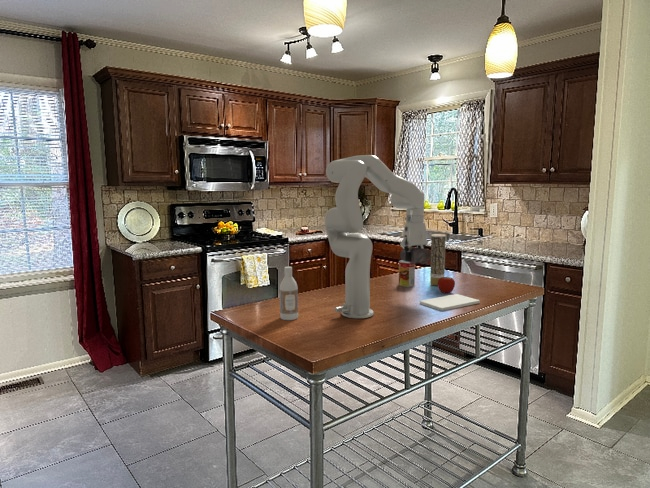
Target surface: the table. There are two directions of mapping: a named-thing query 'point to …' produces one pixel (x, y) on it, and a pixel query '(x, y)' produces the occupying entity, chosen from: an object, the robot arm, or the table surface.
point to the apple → (446, 284)
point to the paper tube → (437, 258)
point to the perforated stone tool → (417, 255)
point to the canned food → (406, 274)
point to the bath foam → (288, 296)
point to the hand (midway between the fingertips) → (413, 259)
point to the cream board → (449, 302)
